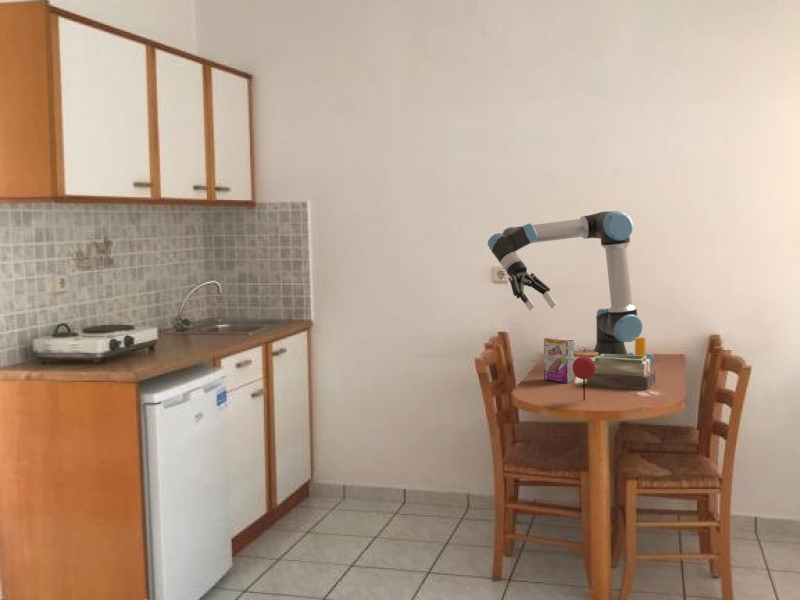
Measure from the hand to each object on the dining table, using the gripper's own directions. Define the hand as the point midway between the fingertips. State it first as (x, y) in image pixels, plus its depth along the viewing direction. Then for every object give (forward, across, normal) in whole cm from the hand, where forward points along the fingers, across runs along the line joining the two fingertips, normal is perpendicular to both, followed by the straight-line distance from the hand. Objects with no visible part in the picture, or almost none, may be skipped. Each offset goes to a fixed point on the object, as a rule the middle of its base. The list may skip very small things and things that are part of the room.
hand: (543, 307), depth 355 cm
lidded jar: (+22, -24, -17) cm, 37 cm away
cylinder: (+37, -30, -1) cm, 48 cm away
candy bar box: (+26, 0, -14) cm, 29 cm away
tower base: (+40, -10, +2) cm, 41 cm away
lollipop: (+46, +24, +7) cm, 53 cm away
